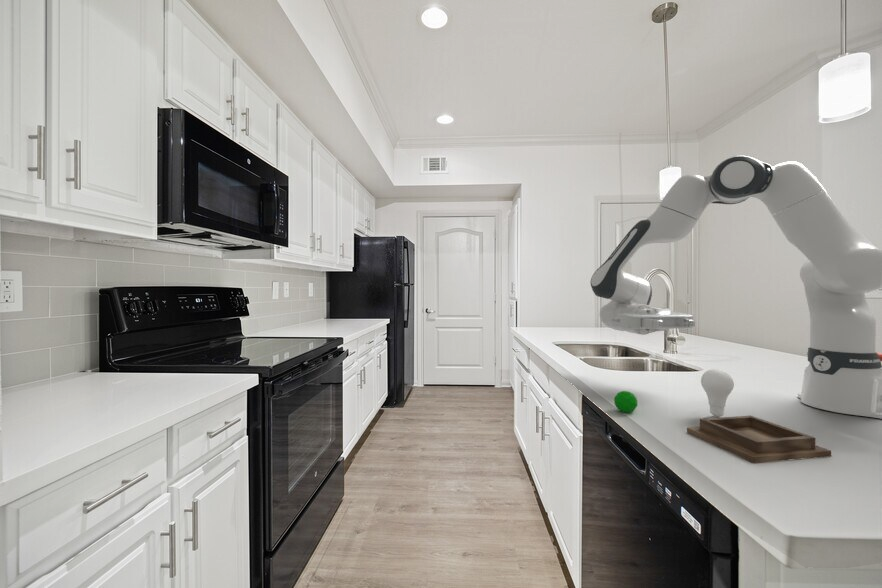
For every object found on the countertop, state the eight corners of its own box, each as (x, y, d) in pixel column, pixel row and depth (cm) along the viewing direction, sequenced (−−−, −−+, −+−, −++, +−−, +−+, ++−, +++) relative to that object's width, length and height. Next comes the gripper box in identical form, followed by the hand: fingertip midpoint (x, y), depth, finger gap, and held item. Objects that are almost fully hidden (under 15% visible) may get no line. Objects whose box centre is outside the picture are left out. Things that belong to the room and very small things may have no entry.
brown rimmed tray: (753, 427, 81) (754, 413, 81) (831, 456, 67) (831, 439, 67) (687, 432, 78) (687, 417, 78) (753, 463, 64) (753, 445, 64)
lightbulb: (722, 413, 90) (722, 366, 90) (740, 422, 84) (740, 372, 84) (695, 412, 91) (695, 366, 91) (710, 421, 85) (711, 371, 85)
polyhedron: (609, 410, 92) (610, 391, 92) (621, 407, 95) (621, 388, 95) (629, 416, 88) (630, 396, 88) (641, 412, 91) (641, 392, 91)
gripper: (608, 308, 111) (640, 311, 97) (670, 308, 114) (710, 311, 101) (607, 330, 111) (640, 336, 97) (670, 329, 114) (709, 335, 101)
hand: (676, 323), depth 99 cm, fingers open, 8 cm apart
